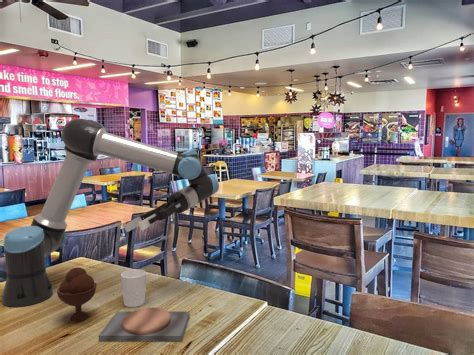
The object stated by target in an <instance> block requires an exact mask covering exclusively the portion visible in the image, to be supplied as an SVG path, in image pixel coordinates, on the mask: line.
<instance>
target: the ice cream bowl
mask: <svg viewBox="0 0 474 355" xmlns="http://www.w3.org/2000/svg"><path fill="white" fill-rule="evenodd" d="M97 285H98V284H97V282H95V279H94V277H93V276H91V275H90V274H88V273H87V271H86V270H85V269H84V268H83V267H77V266H75V267H73V268H71V269H69V270H68V271H67V273H66V274H65V279H64V280H63V281H62V282H61V283H60V285H59V287H58V288H57V291H56V294H57V296H58V299H59V300H60V301H61V302H63V303H64V304H66V305H68V306H71V307H75V308H74V309H75V312H74V313H72V314H70V316H69V318H68V320H69V321H70V322H72V323H78V322H84V321H85V320H87V319H88V318H89V317H90V316H89V313H88V312H86V311H83V310H82V309H83V308H82V306H83V305H85V304H86V303H88V302H89V301H90V300H91V299H93V297H94V296H95V293H96V290H97Z"/></svg>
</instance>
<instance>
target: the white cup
mask: <svg viewBox="0 0 474 355" xmlns="http://www.w3.org/2000/svg"><path fill="white" fill-rule="evenodd" d="M146 278H147V272H146V270H144V269H138V268H137V269H136V268H135V269H128V270H125V271H122V272H121V273H120V282H121V283H120V284H121V292H122V299H123V305H124V306H125V307H127V308H137V307H140V306H142V305H144V304H145V303H146V290H147V288H146V284H147V282H146V281H147V280H146Z"/></svg>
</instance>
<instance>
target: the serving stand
mask: <svg viewBox="0 0 474 355" xmlns="http://www.w3.org/2000/svg"><path fill="white" fill-rule="evenodd" d="M190 315H191V314H190V311H168V310H167V309H164V308H160V307H155V306H154V307H153V306H152V307H151V306H150V307H142V308H139V309H135V310H132V311H130V310H129V311H127V310H125V311H123V310H122V311H120V310H119V311H115V314H113V316H112V317H111V318H110V320H109V321H108V323H106V325H105V327H104V328H103V329H102V330H101V332H100V333H99V335H98V342H182V341H183V337H184V335H185V332H186V329H187V327H188V326H187V325H188V322H189V319H190Z"/></svg>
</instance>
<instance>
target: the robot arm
mask: <svg viewBox="0 0 474 355" xmlns="http://www.w3.org/2000/svg"><path fill="white" fill-rule="evenodd" d="M61 140H62V142H63V144H64V145H65V146H64V147H63V151H64V152H65V157H64V159H63V162H62V163H61V166H60V168H59V170H58V173H57V175H56V177H55V180H54V183H52V187H51V189H50V191H49V194H48V197H47V198H46V199H45V200H46V201H45V203H44V205H43V208H42V211H41V212H40V213H37V214H36V215H34V216H33V220H32V221H31V224H30V225H27V226H20V227H18V228H14V229H11V230H10V231H8V232H7V233H6V234H5V235H4V239H3V242H4V243H3V248H4V250H3V251H4V258H5V259H4V260H5V271H6V272H5V273H6V281H5V284H4V287H3V291H2V295H1V302H2V304H3V305H4V306H7V307H11V308H12V307H14V308H17V307H25V306H31V305H36V304H38V303H42V302H44V301H46V300H48V299H49V298H51V297H52V296H53V294H54V287H53V284H52V282H51V280H50V277H49V276H48V273H47V268H46V266H47V265H46V258H47V257H48V256H49V255H51V254H52V253H54V252H56V251H57V250H58V249H60V248H61V246H62V245H63V243H64V241H65V239H66V232H65V231H66V229H67V227H68V224H67V221H66V218H67V216H68V215H69V212H70V209H71V207H72V205H73V202H74V201H75V198H76V196H77V194H78V191H79V189H80V187H81V185H82V182H83V180H84V178H85V176H86V174H87V171H88V169H89V167H90V164H92V163H94V162H96V161H97V159H98V156H99V155H102V156H106V157H110V158H113V159H117V160H120V161H124V162H128V163H131V164H135V165H139V166H142V167H145V168H149V169H153V170H157V171H160V172H163V173H167V174H172V175H174V176H178V177H181V178H183V179H184V180H187V181H188V183H189V185H187V186H185V187H183V188H181V189H179V190H178V191H175V192H174V193H171V194H170V195H169V196H168V202H164V203H162V204H161V205H159V206H157V207H156V208H153V209H151V210H150V211H147V212H145V213H143V214H141V215H138V217H136V218H135V219H132V220H131V221H129V222H127V223H124V224H123V225H122V227H123V228H124V230H125V232H126V233H129V232H130V231H132V230H134V229H136V228H137V227H138V228H139V230H140V231H144V230H146V229H148V228H149V227H151V226H153V225H155V224H156V223H159V221H162V220H166V219H167V218H169V217H170V216H172V215H173V214H174V213H176V214H183V213H184V212H185V211H187V210H188V209H190V208H193V209H194V208H195V205H197V204H199V203H202V202H203V201H204V200H207V199H208V198H210V197H212V196H214V194H216V193H217V192H218V191H219V189H220V184H219V181H218V179H216V177H215V176H214V175H212V174H208V173H207V172H206V170H205V168H204V165H203V163H202V161H201V158H200V156H199V154H198V152H197V149H195V148H190V149H188V150H186V151H184V152H182V153H179V152H176V151H172V150H170V149H165V148H162V147H159V146H155V145H152V144H148V143H146V142H145V143H144V142H141V141H138V140H134V139H131V138H127V137H124V136H120V135H117V134H114V133H110V132H107V129H106V128H105V127H104V125H102V124H101V123H100V122H98V121H97V120H96V121H95V120H93V119H85V118H73V119H71V120H70V121H68V122H67V123H66V124H65V125H64V126H63V128H62V131H61Z"/></svg>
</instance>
